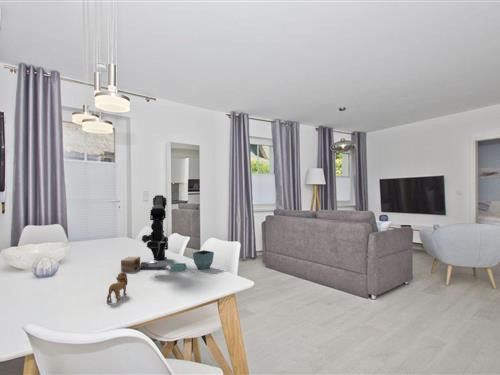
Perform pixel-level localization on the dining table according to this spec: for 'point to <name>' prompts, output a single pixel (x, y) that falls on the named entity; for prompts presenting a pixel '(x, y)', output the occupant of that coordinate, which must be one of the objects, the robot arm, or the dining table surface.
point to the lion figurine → (118, 286)
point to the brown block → (130, 263)
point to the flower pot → (203, 259)
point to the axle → (153, 265)
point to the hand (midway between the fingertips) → (158, 256)
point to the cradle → (178, 267)
